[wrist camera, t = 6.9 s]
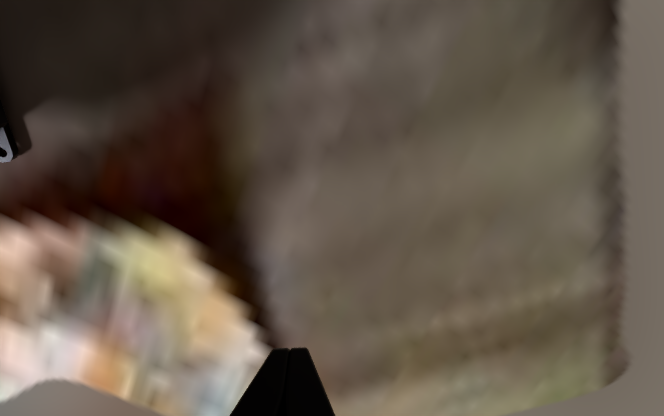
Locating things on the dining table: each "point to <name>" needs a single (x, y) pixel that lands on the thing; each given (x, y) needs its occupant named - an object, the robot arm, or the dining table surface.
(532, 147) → the dining table surface
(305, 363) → the robot arm
